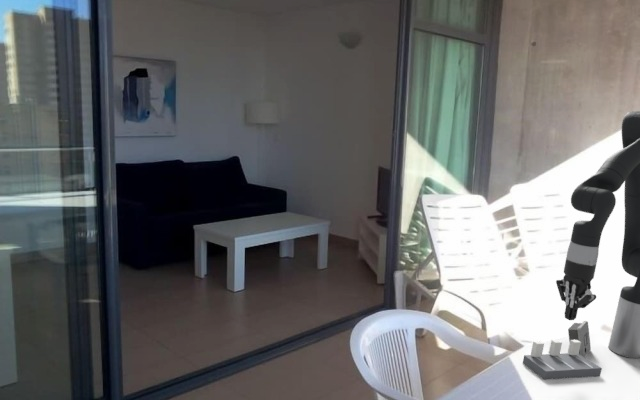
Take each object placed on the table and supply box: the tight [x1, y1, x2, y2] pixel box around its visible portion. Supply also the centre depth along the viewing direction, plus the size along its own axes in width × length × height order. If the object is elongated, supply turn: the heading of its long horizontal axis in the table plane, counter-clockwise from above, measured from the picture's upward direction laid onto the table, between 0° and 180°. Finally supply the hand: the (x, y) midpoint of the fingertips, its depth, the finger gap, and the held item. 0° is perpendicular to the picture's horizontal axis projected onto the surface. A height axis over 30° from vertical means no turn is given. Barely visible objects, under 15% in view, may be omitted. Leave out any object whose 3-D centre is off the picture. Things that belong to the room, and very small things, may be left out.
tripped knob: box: [548, 339, 563, 356], centre depth 156 cm, size 2×2×4 cm
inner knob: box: [567, 339, 581, 355], centre depth 158 cm, size 2×2×4 cm
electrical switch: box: [567, 320, 591, 358], centre depth 167 cm, size 9×5×9 cm, turn 141°
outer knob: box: [530, 340, 545, 357], centre depth 154 cm, size 2×2×4 cm
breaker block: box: [522, 352, 603, 381], centre depth 153 cm, size 19×9×3 cm, turn 108°
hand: (569, 319), depth 152 cm, fingers closed
